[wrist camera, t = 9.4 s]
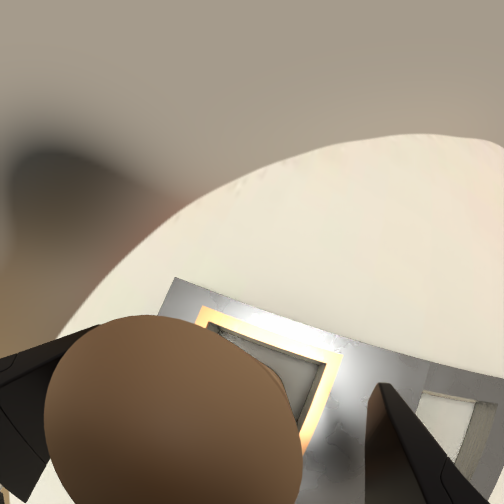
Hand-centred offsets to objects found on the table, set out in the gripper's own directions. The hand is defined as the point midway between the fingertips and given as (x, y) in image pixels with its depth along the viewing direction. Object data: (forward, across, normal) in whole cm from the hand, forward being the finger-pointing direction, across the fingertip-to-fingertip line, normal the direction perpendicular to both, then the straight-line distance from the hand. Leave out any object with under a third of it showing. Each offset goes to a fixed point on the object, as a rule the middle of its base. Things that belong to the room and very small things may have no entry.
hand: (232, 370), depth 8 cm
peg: (+4, 0, +6) cm, 8 cm away
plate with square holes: (+4, -6, +7) cm, 10 cm away
